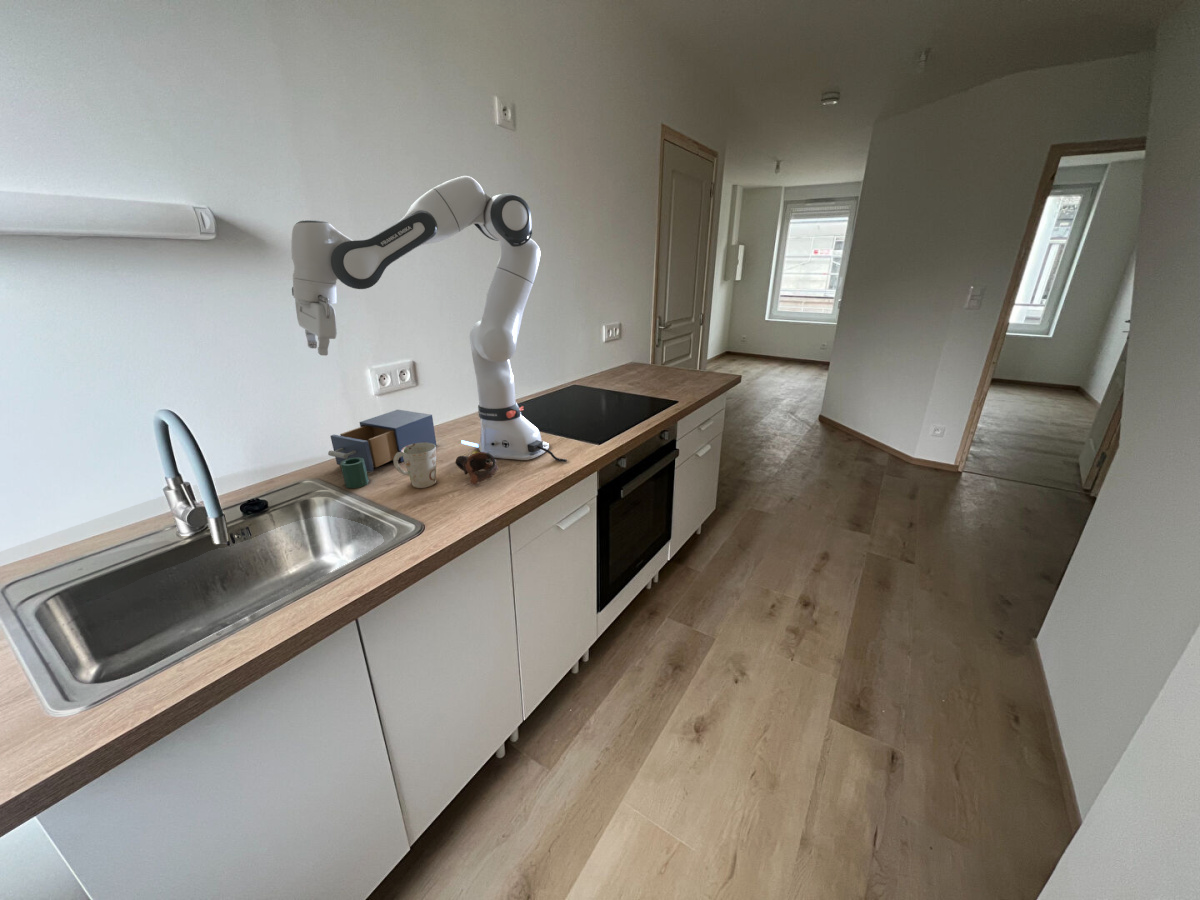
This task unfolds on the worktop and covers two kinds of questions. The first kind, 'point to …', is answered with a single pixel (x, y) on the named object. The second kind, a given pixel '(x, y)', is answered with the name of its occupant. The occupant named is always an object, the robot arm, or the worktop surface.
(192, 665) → the worktop surface
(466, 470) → the pottery mug
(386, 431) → the drawer
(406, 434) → the cabinet
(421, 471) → the mug
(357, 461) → the jar
